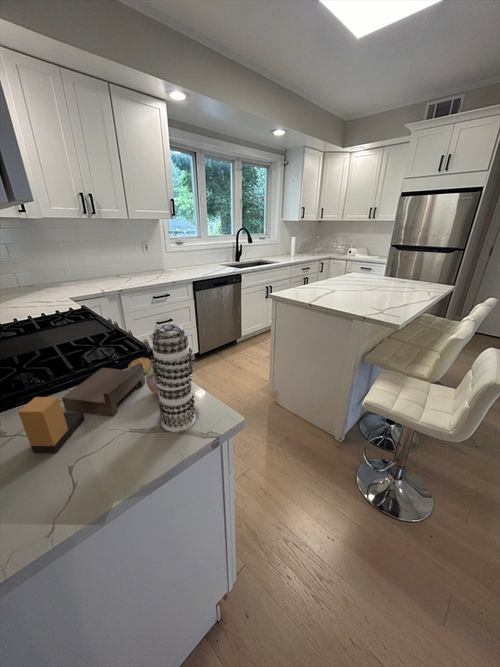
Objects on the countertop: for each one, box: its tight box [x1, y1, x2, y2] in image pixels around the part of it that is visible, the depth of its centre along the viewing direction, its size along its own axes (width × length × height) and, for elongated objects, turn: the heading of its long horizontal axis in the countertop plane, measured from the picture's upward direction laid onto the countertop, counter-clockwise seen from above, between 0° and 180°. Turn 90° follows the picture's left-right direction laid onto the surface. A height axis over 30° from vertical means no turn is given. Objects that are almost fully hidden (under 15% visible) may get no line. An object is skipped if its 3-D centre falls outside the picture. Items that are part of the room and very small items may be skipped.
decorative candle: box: [149, 324, 197, 433], centre depth 65 cm, size 9×9×25 cm
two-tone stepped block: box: [17, 396, 85, 454], centre depth 63 cm, size 11×5×11 cm, turn 0°
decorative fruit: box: [145, 367, 159, 396], centre depth 79 cm, size 9×8×10 cm
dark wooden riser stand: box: [61, 363, 146, 418], centre depth 78 cm, size 14×16×7 cm
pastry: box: [127, 357, 151, 375], centre depth 93 cm, size 9×7×4 cm
